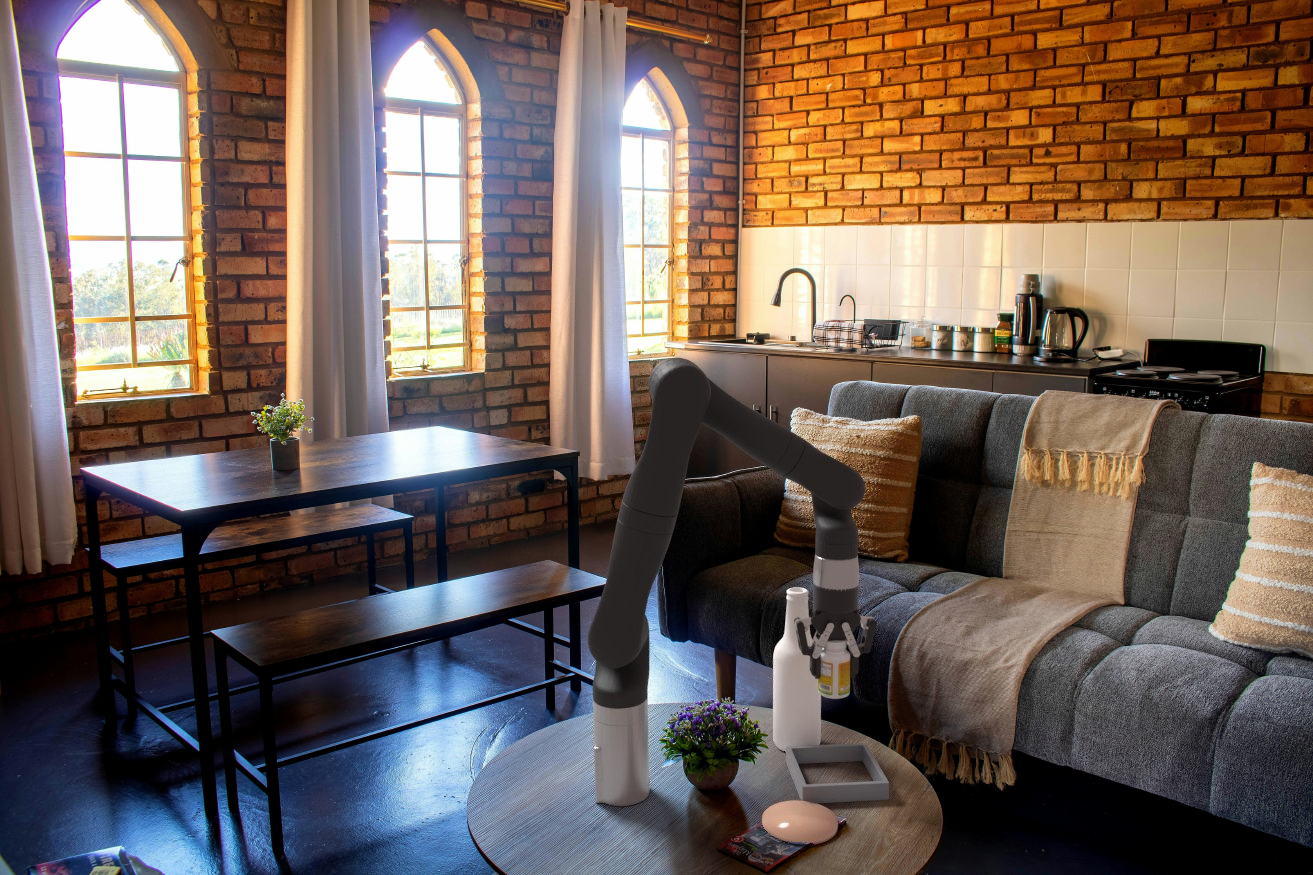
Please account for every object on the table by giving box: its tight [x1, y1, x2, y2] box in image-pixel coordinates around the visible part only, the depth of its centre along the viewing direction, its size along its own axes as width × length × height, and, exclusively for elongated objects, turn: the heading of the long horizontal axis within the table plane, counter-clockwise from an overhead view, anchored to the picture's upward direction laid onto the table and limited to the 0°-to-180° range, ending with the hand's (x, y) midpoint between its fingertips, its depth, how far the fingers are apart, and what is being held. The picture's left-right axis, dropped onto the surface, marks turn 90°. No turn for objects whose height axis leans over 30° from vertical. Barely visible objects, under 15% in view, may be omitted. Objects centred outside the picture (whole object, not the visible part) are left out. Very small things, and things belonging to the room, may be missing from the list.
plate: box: [761, 799, 839, 845], centre depth 161 cm, size 12×12×1 cm
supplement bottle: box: [818, 639, 851, 700], centre depth 171 cm, size 5×5×10 cm
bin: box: [785, 742, 890, 804], centre depth 175 cm, size 15×15×3 cm
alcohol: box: [772, 586, 822, 753], centre depth 186 cm, size 9×9×30 cm
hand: (834, 676), depth 172 cm, fingers closed on supplement bottle, 5 cm apart
